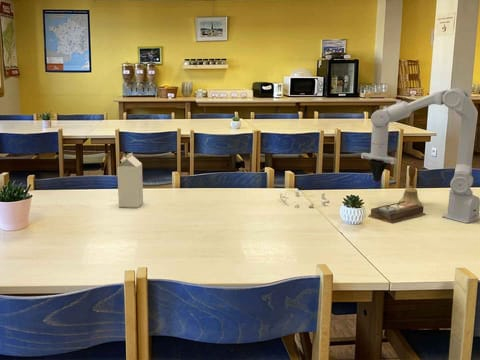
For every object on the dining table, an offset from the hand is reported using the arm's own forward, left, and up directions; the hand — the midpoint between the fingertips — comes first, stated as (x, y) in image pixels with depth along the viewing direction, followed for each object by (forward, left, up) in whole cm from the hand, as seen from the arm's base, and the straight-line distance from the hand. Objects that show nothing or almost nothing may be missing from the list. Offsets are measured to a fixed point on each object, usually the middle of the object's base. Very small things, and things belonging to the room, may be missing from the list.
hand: (377, 180), depth 199 cm
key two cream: (-12, +3, -9) cm, 15 cm away
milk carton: (+53, +72, -10) cm, 90 cm away
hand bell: (-4, -15, -10) cm, 19 cm away
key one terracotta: (-12, -3, -9) cm, 15 cm away
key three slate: (-12, +8, -9) cm, 17 cm away
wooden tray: (-12, +3, -10) cm, 16 cm away
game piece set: (+21, +16, -10) cm, 28 cm away
